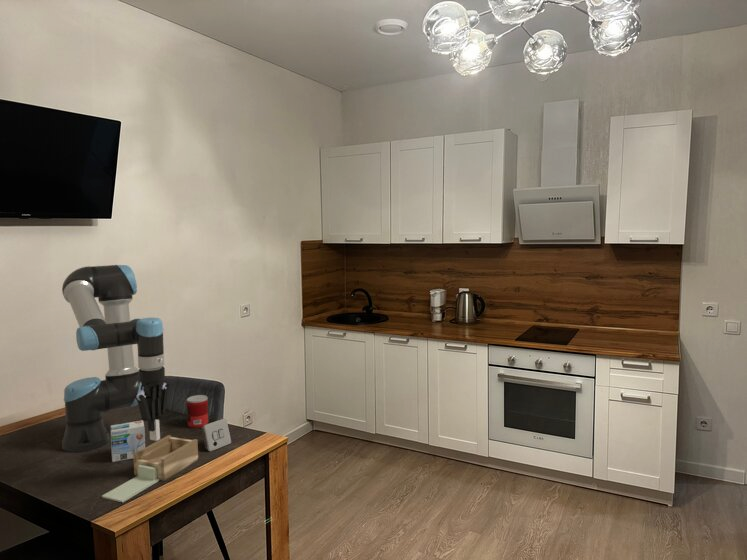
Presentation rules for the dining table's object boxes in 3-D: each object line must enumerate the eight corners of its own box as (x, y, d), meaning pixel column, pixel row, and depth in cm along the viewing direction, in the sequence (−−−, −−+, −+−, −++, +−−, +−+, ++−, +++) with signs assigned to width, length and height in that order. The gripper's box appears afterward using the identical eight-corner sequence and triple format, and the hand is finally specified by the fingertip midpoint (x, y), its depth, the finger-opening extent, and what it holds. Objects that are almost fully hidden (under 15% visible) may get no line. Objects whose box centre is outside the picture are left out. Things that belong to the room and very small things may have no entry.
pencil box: (134, 475, 167) (133, 454, 166) (169, 454, 182) (168, 435, 181) (164, 480, 163) (163, 459, 162) (198, 459, 178) (197, 439, 177)
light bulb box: (112, 462, 176) (110, 431, 175) (111, 455, 182) (109, 425, 181) (146, 456, 181) (144, 425, 180) (145, 448, 187) (143, 419, 186)
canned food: (212, 423, 211) (211, 396, 210) (196, 430, 204) (195, 402, 203) (200, 419, 215) (198, 393, 214) (183, 426, 208) (182, 399, 207)
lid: (102, 499, 154) (101, 484, 153) (139, 477, 166) (139, 464, 166) (122, 504, 151) (121, 489, 150) (159, 482, 163) (158, 468, 163)
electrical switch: (209, 452, 184) (207, 426, 183) (201, 450, 187) (198, 424, 187) (231, 444, 191) (229, 418, 191) (223, 441, 194) (221, 417, 194)
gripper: (145, 374, 158) (149, 449, 160) (175, 363, 170) (178, 433, 173) (126, 371, 160) (130, 445, 163) (157, 361, 172) (160, 429, 175)
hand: (155, 439), depth 168 cm, fingers closed
